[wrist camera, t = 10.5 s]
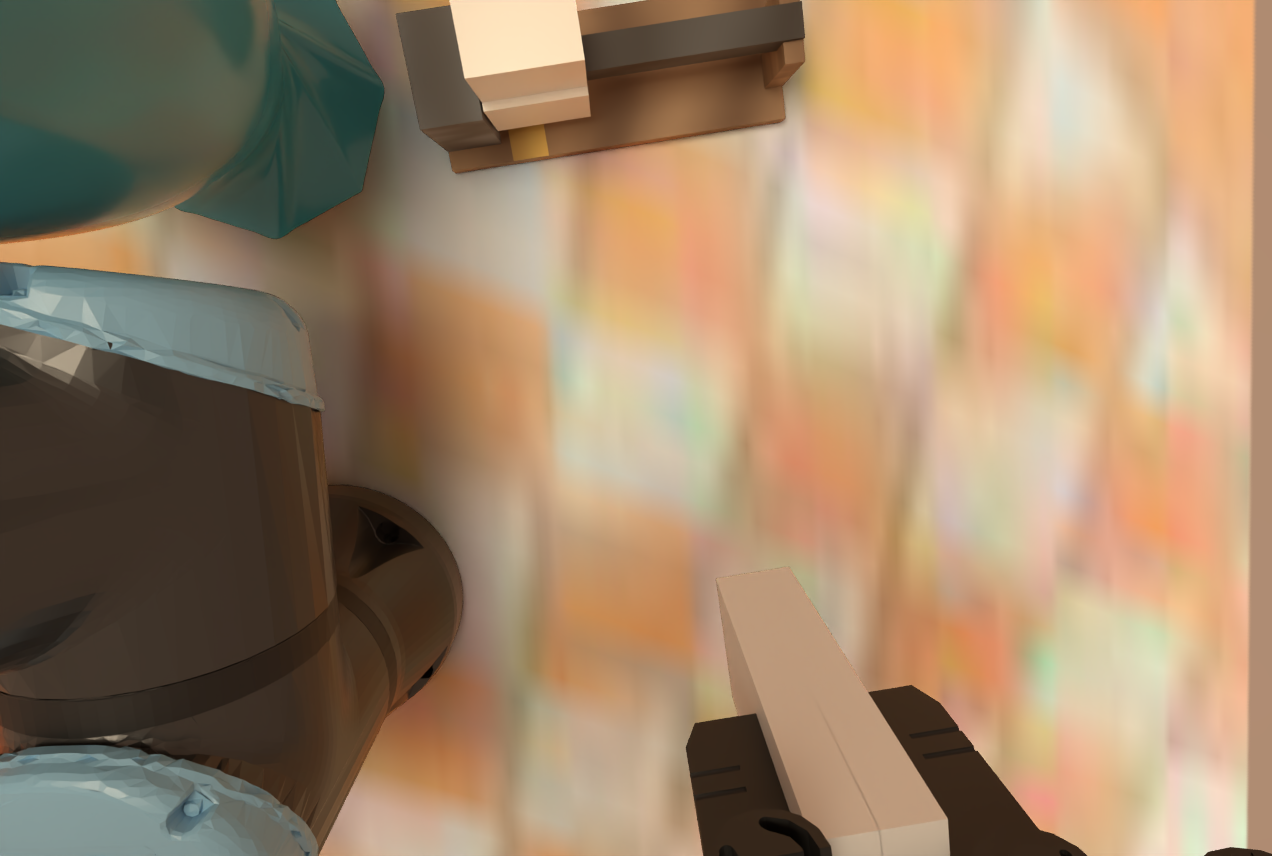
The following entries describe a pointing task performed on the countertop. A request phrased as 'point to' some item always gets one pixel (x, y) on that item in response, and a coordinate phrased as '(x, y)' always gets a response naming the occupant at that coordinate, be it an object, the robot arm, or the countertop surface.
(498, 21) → the sleeve
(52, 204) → the vase
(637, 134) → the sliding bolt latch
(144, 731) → the robot arm
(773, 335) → the countertop surface
